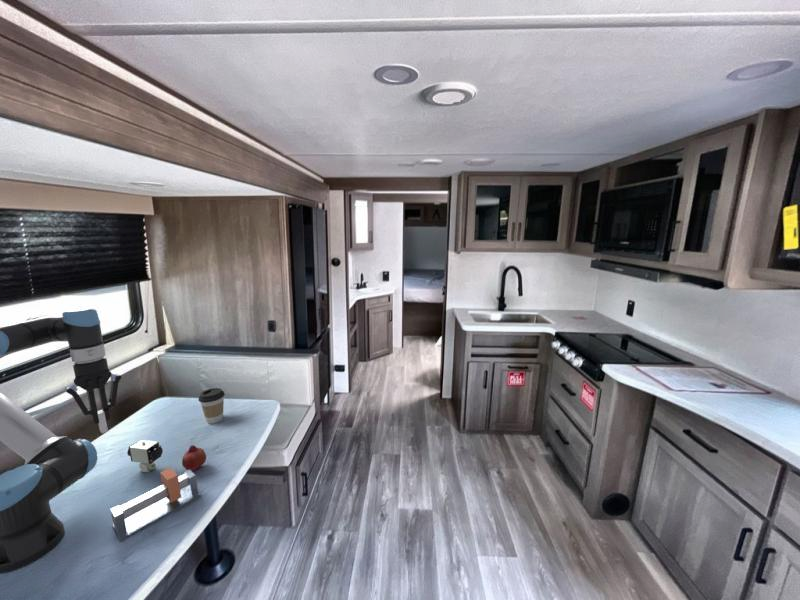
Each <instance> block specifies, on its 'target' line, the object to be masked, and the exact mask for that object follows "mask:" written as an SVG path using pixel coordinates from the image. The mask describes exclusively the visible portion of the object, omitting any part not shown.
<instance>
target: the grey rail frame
mask: <svg viewBox="0 0 800 600" xmlns="http://www.w3.org/2000/svg"><path fill="white" fill-rule="evenodd" d="M178 480H179V486H180V493H181V498H179V499H177V500H175V501H174V502H172V503H171V502H170V501H169V500H168V499H167V497H168V496H169V493H168V487H167V486H166V485H165V484H163V485H159V486H157V487H156V488H153V489H151V490H150V491H147V492H146V493H144V494H141V495H139V496H138V497H136V498H134V499H131V500H129V501H128V502H126V503H123V504H121V505H119V504H118V505H116V506H113V507H111V508H110V514H111V518H112V519H111V520H112V522H113V523H112V528H113V531H114V532H115V534H116V536H117V537H118V539H119V541H120V543H122V542H124V541H126V540H128V539H129V538H131V537H132V536H133V537H134V536H135V535H136V534H138V533H140V532H141V531H143V530H145V529H148V528H149V527H151V526H152V525H154V524H155V523H158V522H159V521H162V519H165V518H166V517H168V516H170V515H171V514H173V513H175V512H177V511H179V510H180V509H182V508H183V507H185V506H187V505H189V504H191V503H192V502H194V501H196V500H198V499H199V498H202V495H201V493H200V492H199V489H198V482H197V475H196V474H195V473H194V472H193V471H191V470H185V471H184V472H183V474H182V475H181V474H180V475H179V476H178Z"/></svg>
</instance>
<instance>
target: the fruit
mask: <svg viewBox="0 0 800 600" xmlns="http://www.w3.org/2000/svg"><path fill="white" fill-rule="evenodd" d="M181 460H182V461H181V465H182V467H183V468H184V469H185V471H188V470H191V471H192V472H193V471H196V470H198V469H199V468H200V467H202V466H203V465H204V464H205V462H206V460H207V454H206V452H205V450H204V449H203V448H202V447H196V445H193V444H192V445H190V446H189V448H188V450H187V451H186V452H185V453H184V455H183V457H182V459H181Z"/></svg>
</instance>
